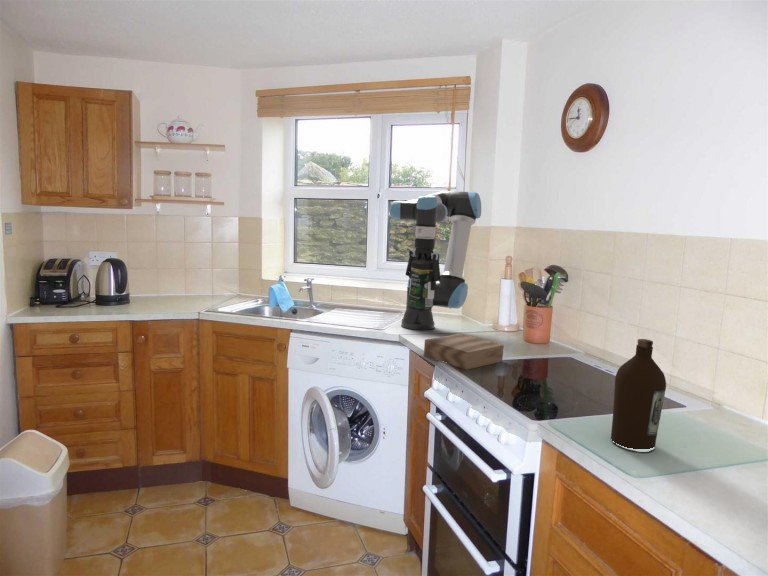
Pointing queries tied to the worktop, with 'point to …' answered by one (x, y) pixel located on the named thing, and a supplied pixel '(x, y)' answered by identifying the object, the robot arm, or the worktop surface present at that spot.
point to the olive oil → (638, 399)
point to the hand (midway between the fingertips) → (421, 296)
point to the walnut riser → (463, 351)
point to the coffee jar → (420, 284)
